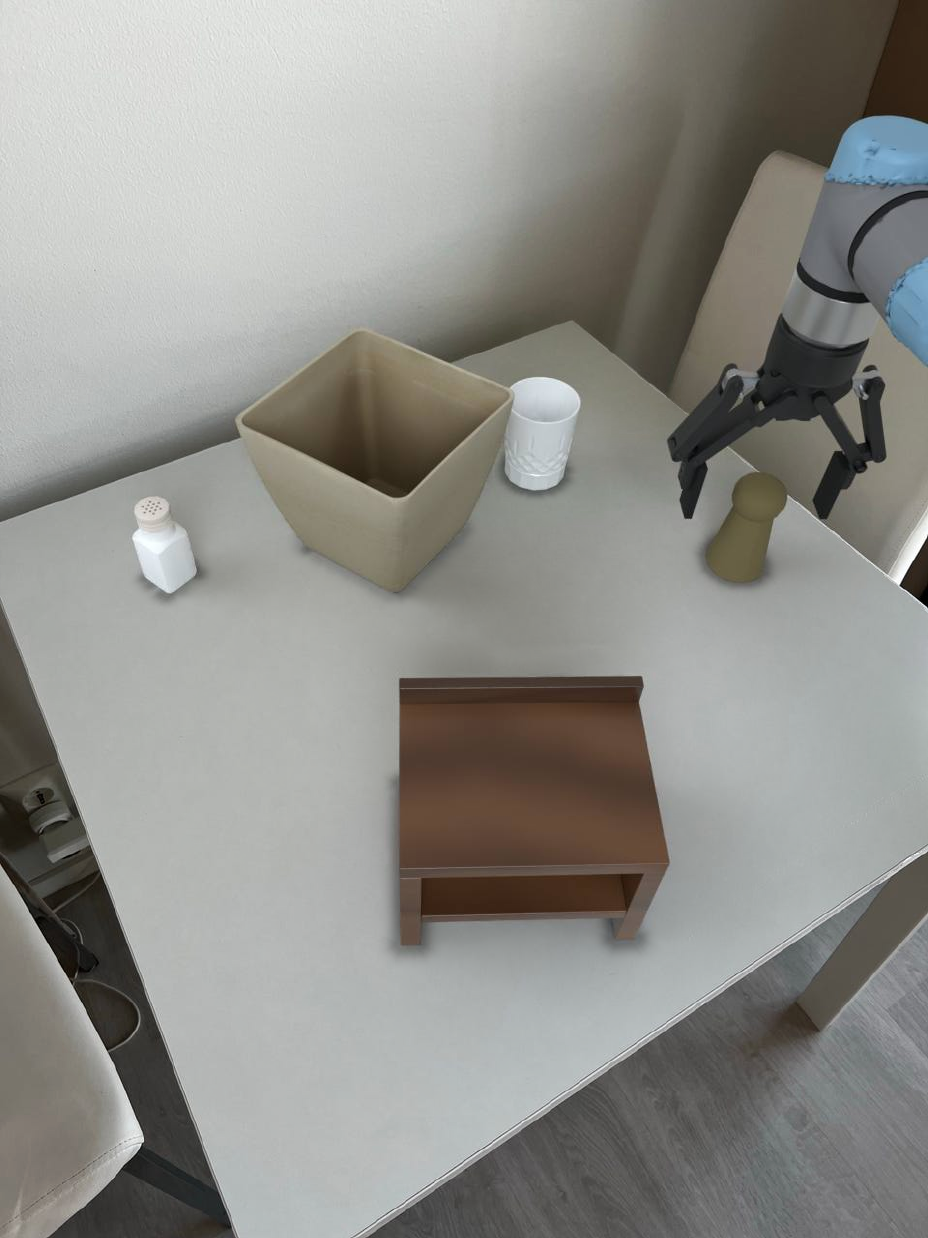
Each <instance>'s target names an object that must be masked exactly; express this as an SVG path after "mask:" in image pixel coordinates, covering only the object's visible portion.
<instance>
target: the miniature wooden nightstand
mask: <svg viewBox="0 0 928 1238" xmlns="http://www.w3.org/2000/svg"><path fill="white" fill-rule="evenodd" d="M644 688H645V684H644V678H643V676H642V675H615V676H614V675H601V676H600V675H596V676H595V675H594V676H592V675H591V676H585V675H583V676H491V677H490V676H479V677H478V676H475V677H471V676H469V677H468V676H467V677H466V676H465V677H399V678H398V698H399V699H398V703H399V705H398V707H399V709H398V710H399V711H398V713H399V714H398V724H399V725H398V726H399V728H398V759H399V760H398V772H399V773H398V887H399V888H398V890H399V924H400V925H399V926H400V927H399V928H400V931H399V932H400V946H421V944H422V943H421V942H422V940H421V937H422V923H453V922H457V923H459V922H460V923H461V922H497V921H498V922H499V921H503V922H504V921H541V920H543V921H544V920H585V919H587V920H588V919H611V923H612V924H611V925H612V929H613V938H614V940H615V941H633V940H635V938H636V935H637V934H638V932H639V929H640V927H641V925H642V923H643V921H644V919H645V917H646V915H647V913H648V910H649V908H650V906H651V904H652V902H653V900H654V898H655V897H656V894H657V892H658V890H659V888H660V885H661V883H662V881H663V880H664V877H665V875H666V873H667V871H668V868H669V867H670V864H671V861H670V856H669V851H668V846H667V845H668V844H667V841H666V840H667V839H666V836H665V831H664V830H665V829H664V825H663V820H662V814H661V809H660V804H659V799H658V794H657V788H656V784H655V779H654V773H653V767H652V763H651V756H650V752H649V747H648V741H647V735H646V732H645V726H644V721H643V715H642V710H641V705H640V700H641V697H642V694H643V691H644Z"/></svg>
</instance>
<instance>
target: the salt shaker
mask: <svg viewBox="0 0 928 1238" xmlns="http://www.w3.org/2000/svg"><path fill="white" fill-rule="evenodd" d="M133 513H134V517H135V521H136V522H137V526H138V529H137V530H135V532H133V535H132V537H131V538H132V541H133V544H134V548H135V552H136V554H137V557H138V560H139V563H140V567H141V570H142V573H143V576H144V578H146V579H147V580H148V581H149V582H151V583H152V584H153V585H155V586H156V587H158V588H159V589H160V590H162V591H164V592H165V593H167V594H172V593H174V592H175V591H177V590H178V589H180V588H181V587H182V586H184V585H185V584H186V583H187V582H189V581H190V580H192V579H193V578H194V577H195V576H196V575H197V572H198V570H197V569H198V568H197V566H196V562H195V561H196V560H195V558H194V554H193V550H192V546H191V542H190V539H189V535H188V532H187V530H186V529H185V528H184V527H183V526H181V525H180V524H179V523H178V522H176V521H174V516H173V512H172V508H171V505H170V503H169V502H168V501H167V499H166V498H163V497H161V496H158V495H157V496H147V497H145V498H142V499H140V500H139V501H138V502H137V503H136V504H135V506H134V511H133Z"/></svg>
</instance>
